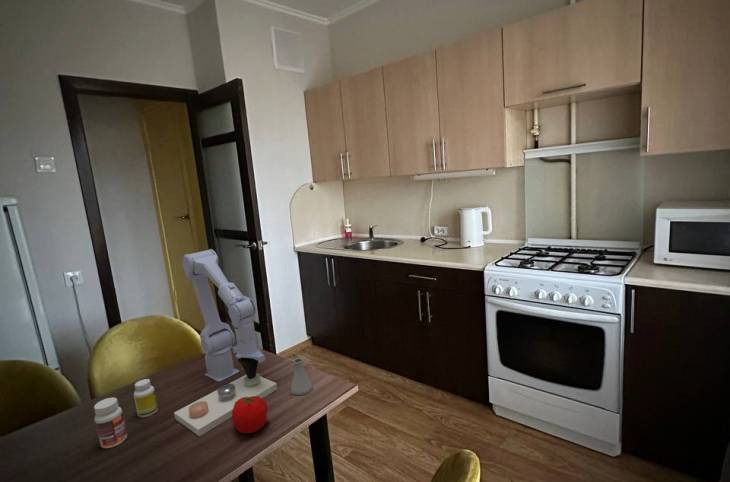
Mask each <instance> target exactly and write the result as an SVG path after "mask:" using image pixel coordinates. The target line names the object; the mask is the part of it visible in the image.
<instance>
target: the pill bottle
mask: <svg viewBox="0 0 730 482" xmlns="http://www.w3.org/2000/svg"><path fill="white" fill-rule="evenodd" d="M93 408H94V414H95V416H94V424H95V427H96V433H97V435H98V436H97V437H98V439H99V445H100V447H101V448H102V449H109V448H111V449H112V448H114V447H116V446H118V445H121V444H122V443H123V442H124V441H125V440H126V439H127V437H128V431H127V427H126V423H125V419H124V413H123V410H122V408H121V407H120V406H119V402H118V398H116V397H107V398H105V399H102V400H100V401H98V402H96V404H95V405H94V407H93Z"/></svg>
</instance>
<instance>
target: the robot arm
mask: <svg viewBox="0 0 730 482" xmlns="http://www.w3.org/2000/svg"><path fill="white" fill-rule="evenodd" d="M219 263H220V262H219V256H218V255H217V253H216V251H215V250H213V249H212V248H209V249H207V250H203V251H202V250H201V251H198V252H193V253H186V254H184V256H183V257H182V263H181V266H182V269H183V272H184V274H185V277H186V279H187V280H189V281H191V283H192V285H193V289H194V292H195V296H196V299H197V303H198V305H199V309H200V313H201V315H202V318H203V322H204V325H205V327H204V328H203V329H202V331H201V332H200V334H199V338H200V346H201V349H202V351H203V353H204V354H205V355H204V361H205V366H206V373H205V374H204V376H205V377H208V378H210V379H212V380H214V381H216V382H217V383H221V382H223V381H224V380H226V379H229V378H231V377H232V376H235V375H236V374H238V373H240V370H239V369H236V368H234V363H233V356H232V352H233V353H234V354H235V358H237V362H238V363H239V364H240V365H241V366H242V369H243V370H244V372H245V375H247V377H248V378H249V379H252V378H254V377H256V373H257V370H258V365H259V364H260V363H261V364H262V363H263V362H264V361H266V355H265V353H262V351H261V350H260V349H259V348H258V345H257V344H258V343H257V338H256V330H255V324H254V315H255V314H256V304H255V303H254V301H253V299H252V298H250V297H247V295H243V294H242V292H241V291H240V290H239V288H238V287H237V286H236V285H235V283H234V282H229V281H228V279H227V277H226V275H225V273H223V271H222V269H221V268H220V266H219ZM209 280H210V281H211V282H212V283H213V284H214V286H216V287H217V289H218V290H217V295H218V296H219V298H220V299H221V300H222V302H223V303H224V304H225V306H226V307H227V308H228V311H227V312H228V316H229V318H230V320H231V324H232V327H233V328H234V330H235V334H234V332H233V331H232V329H231V327H230V325H229V324H228V323H226V322H222V320H221V318H220V315H219V311H218V308H217V305H216V301H215V299H214V296H213V293H212V289H211V286H210V283H209ZM235 339H236V340H235ZM235 341H236V345H235V346H233V345H234V343H235ZM231 349H232V350H231Z"/></svg>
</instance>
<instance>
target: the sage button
mask: <svg viewBox="0 0 730 482" xmlns="http://www.w3.org/2000/svg"><path fill="white" fill-rule="evenodd" d="M260 376H261V374H260V373H257V372H256V377H254V378H252V379H249V378H248V377H247V376H246V377H245V378H244V383H245V386H248V387H250V386H255V385H257V384H259V383H260V382H261V378H260Z"/></svg>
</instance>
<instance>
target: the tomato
mask: <svg viewBox="0 0 730 482" xmlns="http://www.w3.org/2000/svg"><path fill="white" fill-rule="evenodd" d="M268 409H269V407H268V404H267V402H266V400H264V398H260V397H259V396H252V397H243V398H242V397H241V399H239V400H237V401H236V402H235V404H234V407H233V410H232V417H231V421H232V423H233V424H232V425H233V426H234V427H235V429H236V430H237V431H238V432H239V433H241V434H251V433H255V432H257V431H259V430H260V429H261V428H263V426H264V425H265V423H266V421H267V417H268V416H267V415H268Z"/></svg>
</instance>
